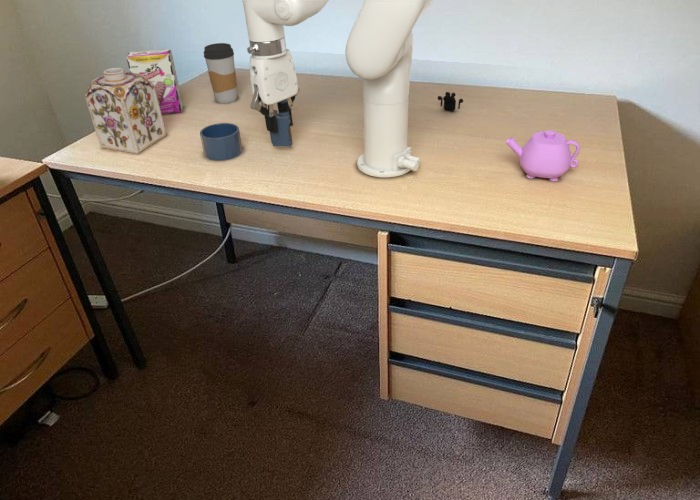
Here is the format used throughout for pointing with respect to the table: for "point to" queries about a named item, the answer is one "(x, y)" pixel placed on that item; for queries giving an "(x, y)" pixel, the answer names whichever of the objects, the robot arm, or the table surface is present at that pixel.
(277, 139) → the vaping device
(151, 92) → the decorative jar
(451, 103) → the wireless earbuds
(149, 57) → the candy bar box
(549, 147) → the teapot
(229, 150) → the pen cup
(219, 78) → the coffee cup
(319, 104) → the table surface
